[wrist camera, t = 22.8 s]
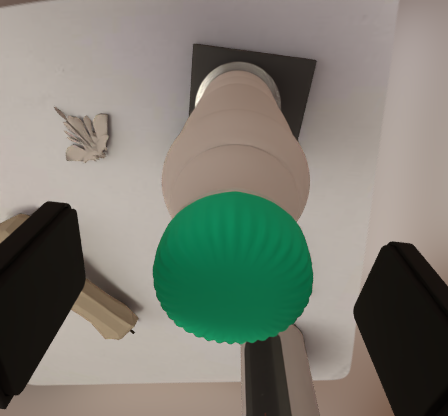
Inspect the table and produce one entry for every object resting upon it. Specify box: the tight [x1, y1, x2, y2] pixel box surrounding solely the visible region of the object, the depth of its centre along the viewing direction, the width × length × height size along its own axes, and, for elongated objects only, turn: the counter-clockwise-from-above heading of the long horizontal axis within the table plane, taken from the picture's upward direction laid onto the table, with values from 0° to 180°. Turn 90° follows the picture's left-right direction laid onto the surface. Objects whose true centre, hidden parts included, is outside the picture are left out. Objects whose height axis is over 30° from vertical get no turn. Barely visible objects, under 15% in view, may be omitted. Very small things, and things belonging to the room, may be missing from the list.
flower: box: [54, 107, 109, 163], centre depth 35 cm, size 8×8×3 cm
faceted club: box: [0, 214, 138, 340], centre depth 43 cm, size 9×8×25 cm
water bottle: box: [153, 70, 313, 344], centre depth 19 cm, size 7×7×25 cm
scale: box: [189, 44, 317, 141], centre depth 33 cm, size 13×13×3 cm
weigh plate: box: [195, 61, 281, 111], centre depth 30 cm, size 8×8×1 cm
